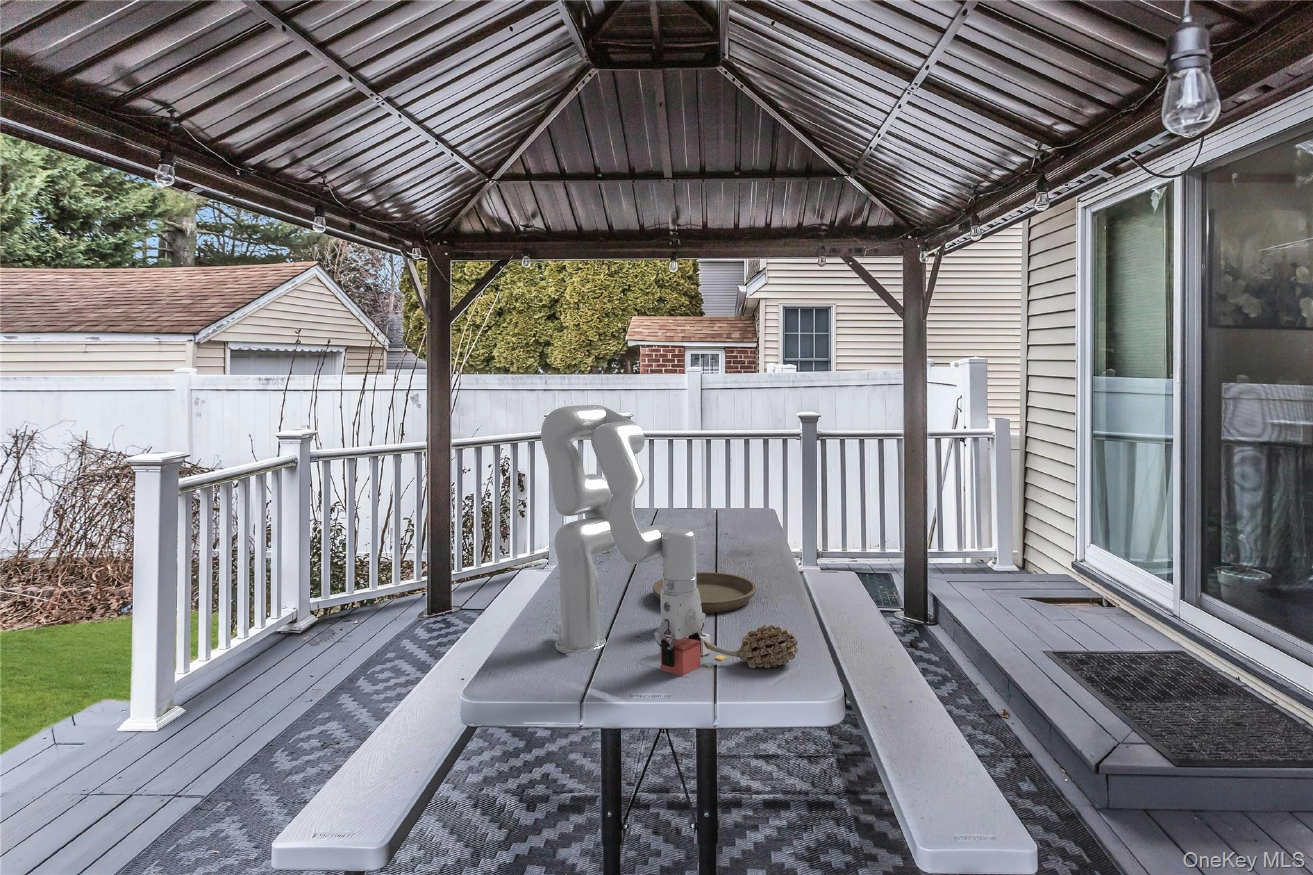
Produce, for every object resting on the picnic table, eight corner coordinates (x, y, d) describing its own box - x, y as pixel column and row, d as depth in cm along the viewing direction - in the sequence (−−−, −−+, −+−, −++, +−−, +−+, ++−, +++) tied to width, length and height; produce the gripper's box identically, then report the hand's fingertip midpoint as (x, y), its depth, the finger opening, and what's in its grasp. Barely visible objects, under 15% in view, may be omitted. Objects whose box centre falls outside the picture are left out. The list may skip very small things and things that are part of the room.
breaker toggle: (692, 652, 181) (692, 634, 180) (700, 649, 183) (700, 631, 183) (703, 655, 179) (702, 637, 178) (710, 651, 181) (710, 633, 181)
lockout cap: (660, 669, 172) (660, 643, 171) (678, 660, 177) (677, 635, 176) (683, 675, 168) (682, 649, 167) (700, 666, 173) (700, 641, 172)
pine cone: (796, 660, 178) (795, 619, 177) (800, 677, 168) (800, 633, 168) (701, 659, 180) (701, 618, 179) (700, 675, 170) (700, 632, 169)
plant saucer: (747, 619, 209) (747, 603, 209) (639, 612, 218) (639, 596, 218) (763, 589, 239) (763, 574, 239) (668, 583, 248) (668, 569, 247)
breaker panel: (637, 666, 176) (636, 642, 176) (684, 644, 190) (684, 622, 189) (689, 682, 166) (688, 657, 166) (734, 658, 180) (734, 634, 180)
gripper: (668, 596, 162) (671, 674, 163) (715, 578, 175) (717, 651, 176) (642, 591, 166) (644, 667, 168) (689, 574, 180) (691, 645, 181)
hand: (681, 659), depth 172 cm, fingers open, 9 cm apart
